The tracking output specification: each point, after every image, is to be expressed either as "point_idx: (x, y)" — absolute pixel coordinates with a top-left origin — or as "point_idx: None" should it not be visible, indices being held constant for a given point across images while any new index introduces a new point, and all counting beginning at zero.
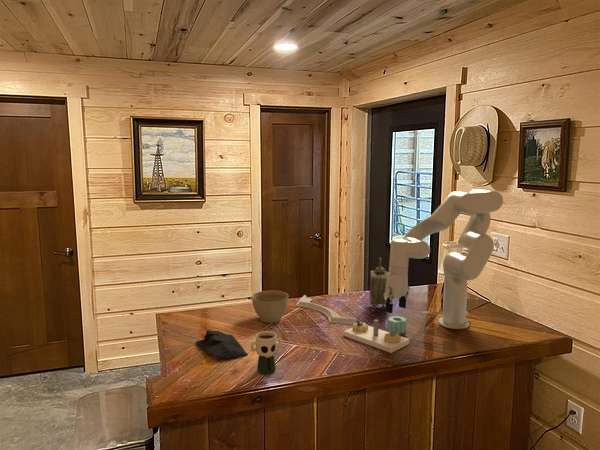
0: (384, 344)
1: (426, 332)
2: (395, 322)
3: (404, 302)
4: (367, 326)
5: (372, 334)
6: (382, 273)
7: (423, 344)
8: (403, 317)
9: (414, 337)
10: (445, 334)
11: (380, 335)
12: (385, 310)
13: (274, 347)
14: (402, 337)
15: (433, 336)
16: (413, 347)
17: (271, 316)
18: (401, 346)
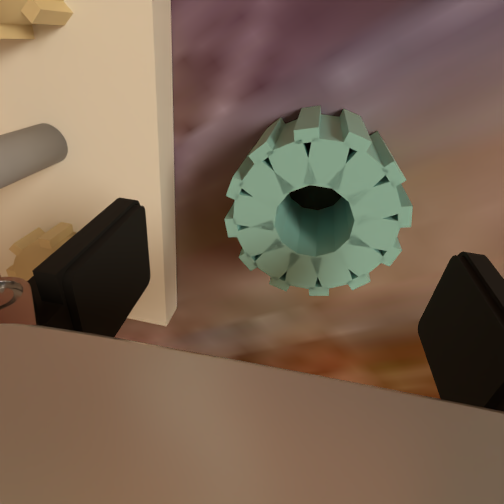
0: (2, 251)
1: (396, 336)
2: (238, 234)
3: (442, 388)
4: (35, 19)
5: (34, 117)
6: None
7: (222, 356)
8: (397, 252)
9: (277, 305)
10: None
11: (70, 176)
12: (116, 203)
13: None
14: (156, 294)
15: (354, 372)
16: (158, 332)
17: None
18: None
